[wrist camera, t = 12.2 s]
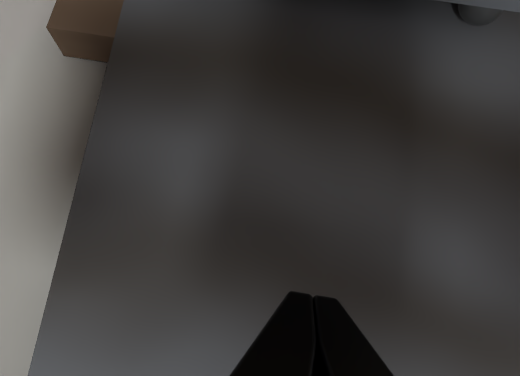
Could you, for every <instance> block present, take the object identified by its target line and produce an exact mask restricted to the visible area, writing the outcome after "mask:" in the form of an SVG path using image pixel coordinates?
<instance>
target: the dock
mask: <svg viewBox="0 0 520 376" xmlns="http://www.w3.org/2000/svg"><path fill="white" fill-rule="evenodd" d="M46 28H47V29H48V31H49V33H50V34H51V36H52V37H53V39H54V40H55V42H56V44H57V45H58V47H59V48H60V50H61V52H62V53H63V55H64V56H69V57H76V58H82V59H89V60H96V61H102V62H108V64H107V68H106V72H105V76H104V80H103V84H102V88H101V91H100V95H99V99H98V103H97V107H96V111H95V115H94V119H93V123H92V127H91V131H90V134H89V138H88V142H87V146H86V150H85V154H84V158H83V162H82V166H81V170H80V174H79V177H78V181H77V185H76V189H75V193H74V197H73V201H72V205H71V209H70V213H69V216H68V220H67V224H66V228H65V232H64V236H63V240H62V244H61V248H60V252H59V256H58V259H57V263H56V267H55V271H54V275H53V279H52V283H51V287H50V291H49V295H48V299H47V302H46V306H45V310H44V314H43V318H42V322H41V326H40V330H39V334H38V338H37V342H36V345H35V349H34V353H33V357H32V361H31V365H30V369H29V373H28V376H230V374H231V373H232V371H233V370H234V368H235V367H236V366H237V364H238V363H239V361H240V360H241V359H242V357H243V356H244V354H245V353H246V351H247V350H248V349H249V347H250V346H251V344H252V343H253V342H254V340H255V339H256V337H257V336H258V335H259V333H260V332H261V330H262V329H263V327H264V326H265V325H266V323H267V322H268V320H269V319H270V318H271V316H272V315H273V313H274V312H275V310H276V309H277V308H278V306H279V305H280V303H281V302H282V301H283V299H284V298H285V296H286V295H287V294H288V293H289V292H290V291H295V292H301V293H308V294H310V295H311V296H312V297H314V296H315V295H320V296H326V297H332V298H336V299H337V300H338V301H339V302H340V303H341V305H342V306H343V307H344V309H345V310H346V311H347V313H348V314H349V315H350V317H351V318H352V319H353V321H354V322H355V324H356V325H357V326H358V328H359V329H360V330H361V332H362V333H363V334H364V336H365V337H366V338H367V340H368V341H369V342H370V344H371V345H372V346H373V348H374V349H375V351H376V352H377V353H378V355H379V356H380V357H381V359H382V360H383V361H384V363H385V364H386V365H387V367H388V368H389V369H390V371H391V372H392V374H393V375H394V376H520V12H513V11H506V10H503V12H502V13H501V15H500V16H499V17H498V18H497V19H496V20H494V21H493V22H491V23H489V24H487V25H483V26H474V25H470V24H468V23H466V22H465V21H464V20H463V19H462V17H461V16H460V14H459V10H458V4H457V3H450V2H443V1H436V0H57V1H56V3H55V6H54V9H53V11H52V14H51V16H50V19H49V22H48V24H47V27H46Z"/></svg>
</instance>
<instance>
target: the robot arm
mask: <svg viewBox="0 0 520 376" xmlns="http://www.w3.org/2000/svg"><path fill="white" fill-rule="evenodd" d="M230 376H394V375H393V374H392V372H391V371H390V369H389V368H388V367H387V365H386V364H385V363H384V361H383V360H382V359H381V357H380V356H379V355H378V353H377V352H376V351H375V349H374V348H373V346H372V345H371V344H370V342H369V341H368V340H367V338H366V337H365V336H364V334H363V333H362V332H361V330H360V329H359V328H358V326H357V325H356V324H355V322H354V321H353V319H352V318H351V317H350V315H349V314H348V313H347V311H346V310H345V309H344V307H343V306H342V305H341V303H340V302H339V301H338V300H337V299H336V298H332V297H326V296H320V295H315V296H314V297H312V296H311V295H310V294H308V293H301V292H295V291H290V292H289V293H288V294H287V295H286V296H285V298H284V299H283V301H282V302H281V303H280V305H279V306H278V308H277V309H276V310H275V312H274V313H273V315H272V316H271V318H270V319H269V320H268V322H267V323H266V325H265V326H264V327H263V329H262V330H261V332H260V333H259V335H258V336H257V337H256V339H255V340H254V342H253V343H252V344H251V346H250V347H249V349H248V350H247V351H246V353H245V354H244V356H243V357H242V359H241V360H240V361H239V363H238V364H237V366H236V367H235V368H234V370H233V371H232V373H231V374H230Z"/></svg>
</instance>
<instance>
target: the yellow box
mask: <svg viewBox="0 0 520 376" xmlns="http://www.w3.org/2000/svg"><path fill="white" fill-rule="evenodd" d="M436 1H443V2H450V3H457V4H458V10H459V14H460V16H461V17H462V19H463V20H464V21H465V22H466V23H468V24H470V25H474V26H483V25H487V24H489V23H491V22H493V21H494V20H496V19H497V18H498V17H499V16H500V15H501V13H502V12H503V10H506V11H513V12H520V0H436Z"/></svg>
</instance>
